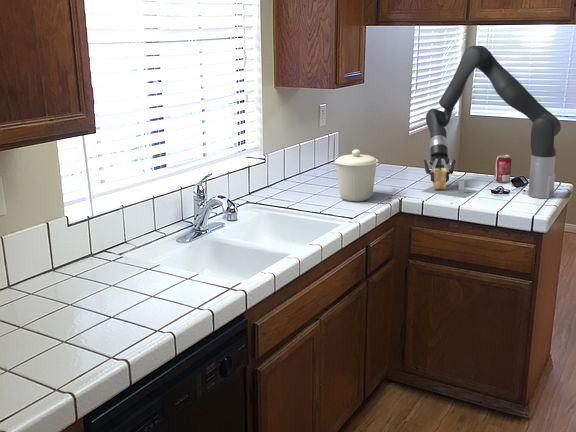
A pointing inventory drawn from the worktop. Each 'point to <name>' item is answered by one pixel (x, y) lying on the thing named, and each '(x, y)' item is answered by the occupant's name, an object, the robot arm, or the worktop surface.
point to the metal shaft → (461, 187)
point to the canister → (356, 176)
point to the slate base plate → (450, 192)
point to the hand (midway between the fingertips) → (440, 181)
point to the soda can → (503, 169)
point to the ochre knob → (439, 178)
